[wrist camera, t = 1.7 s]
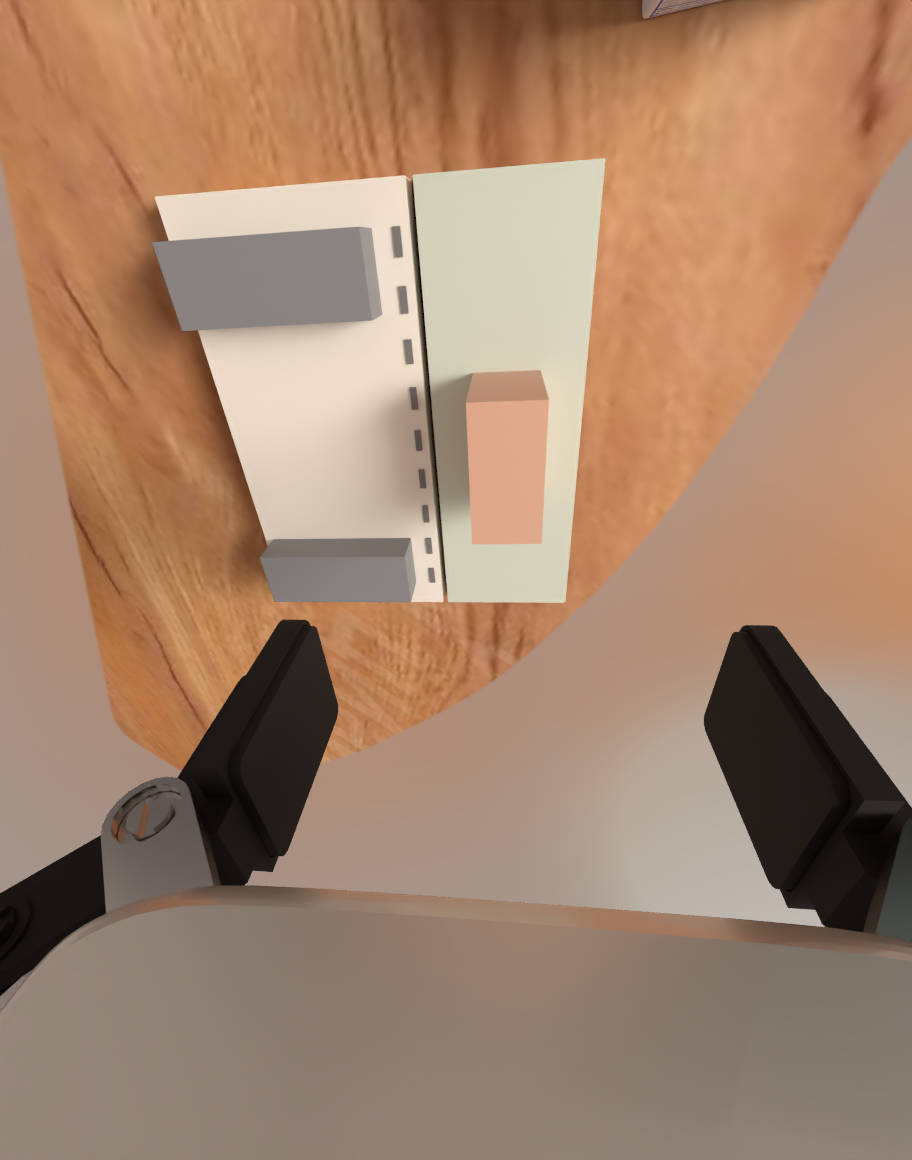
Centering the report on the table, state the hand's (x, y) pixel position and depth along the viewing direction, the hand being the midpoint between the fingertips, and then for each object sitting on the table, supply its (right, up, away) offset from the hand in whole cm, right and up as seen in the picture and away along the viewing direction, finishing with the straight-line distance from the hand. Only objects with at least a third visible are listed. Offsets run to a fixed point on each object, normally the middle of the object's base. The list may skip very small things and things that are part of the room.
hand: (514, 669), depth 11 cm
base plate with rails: (-8, +10, +14) cm, 19 cm away
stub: (+1, +10, +13) cm, 17 cm away
